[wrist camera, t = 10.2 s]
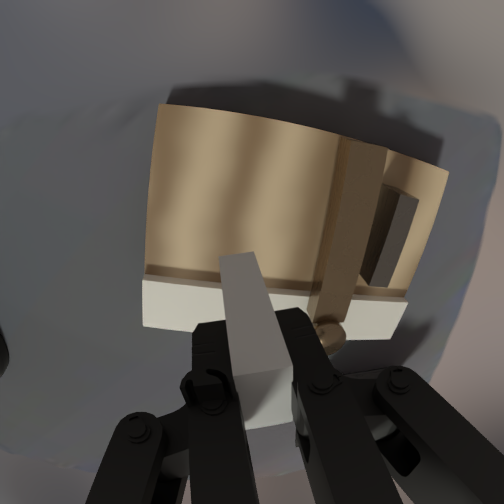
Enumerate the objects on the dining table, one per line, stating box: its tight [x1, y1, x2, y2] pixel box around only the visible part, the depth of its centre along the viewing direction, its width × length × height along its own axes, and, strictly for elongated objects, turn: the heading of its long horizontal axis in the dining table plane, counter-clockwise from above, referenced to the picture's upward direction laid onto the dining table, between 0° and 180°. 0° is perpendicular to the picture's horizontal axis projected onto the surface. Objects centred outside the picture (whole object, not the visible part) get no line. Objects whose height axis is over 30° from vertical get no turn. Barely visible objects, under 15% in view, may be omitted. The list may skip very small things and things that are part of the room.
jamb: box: [142, 274, 408, 340], centre depth 29 cm, size 26×5×6 cm, turn 79°
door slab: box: [145, 104, 449, 297], centre depth 26 cm, size 26×14×3 cm, turn 79°
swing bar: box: [306, 137, 388, 356], centre depth 24 cm, size 18×4×3 cm, turn 174°
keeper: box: [359, 183, 419, 288], centre depth 24 cm, size 2×8×4 cm, turn 169°
